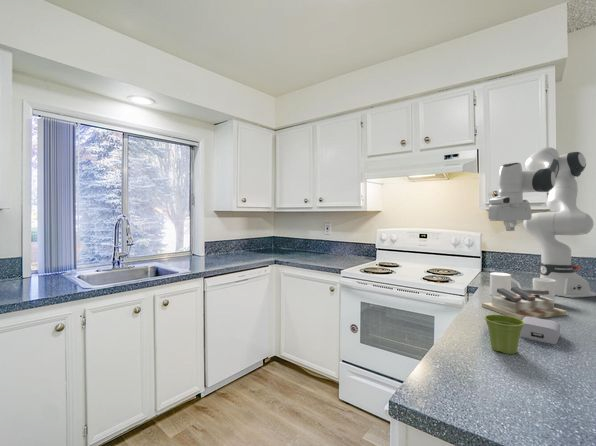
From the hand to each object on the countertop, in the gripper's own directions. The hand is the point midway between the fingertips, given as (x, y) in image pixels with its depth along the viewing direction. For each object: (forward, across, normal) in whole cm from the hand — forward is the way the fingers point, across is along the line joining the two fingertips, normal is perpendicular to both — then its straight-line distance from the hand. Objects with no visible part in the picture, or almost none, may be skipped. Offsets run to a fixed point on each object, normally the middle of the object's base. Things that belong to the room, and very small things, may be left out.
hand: (510, 230), depth 136 cm
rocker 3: (+25, +2, +13) cm, 28 cm away
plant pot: (+31, +47, +39) cm, 68 cm away
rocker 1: (+25, +16, +13) cm, 32 cm away
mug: (+31, -3, -5) cm, 32 cm away
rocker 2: (+25, +9, +13) cm, 29 cm away
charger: (+31, +25, +33) cm, 52 cm away
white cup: (+31, -10, +7) cm, 34 cm away
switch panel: (+31, +9, +13) cm, 35 cm away
